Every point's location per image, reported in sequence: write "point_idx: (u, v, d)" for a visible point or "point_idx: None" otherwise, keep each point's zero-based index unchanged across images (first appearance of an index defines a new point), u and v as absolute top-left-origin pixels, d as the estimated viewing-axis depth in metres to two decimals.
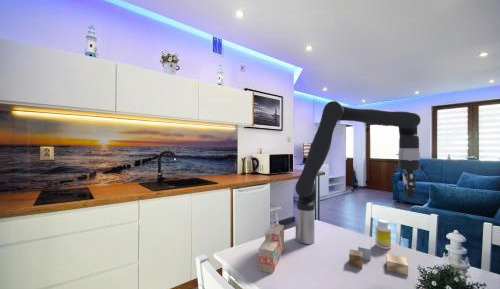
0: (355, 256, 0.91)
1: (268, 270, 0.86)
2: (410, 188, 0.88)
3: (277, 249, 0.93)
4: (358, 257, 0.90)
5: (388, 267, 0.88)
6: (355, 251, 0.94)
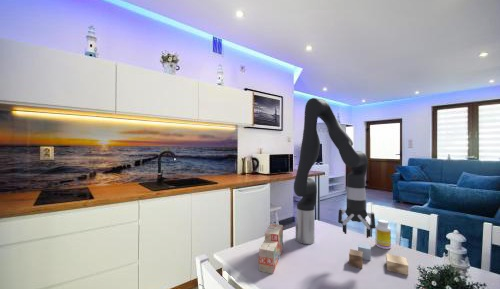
0: (355, 256, 0.91)
1: (268, 270, 0.86)
2: None
3: (277, 249, 0.93)
4: (358, 257, 0.90)
5: (388, 267, 0.88)
6: (355, 251, 0.94)
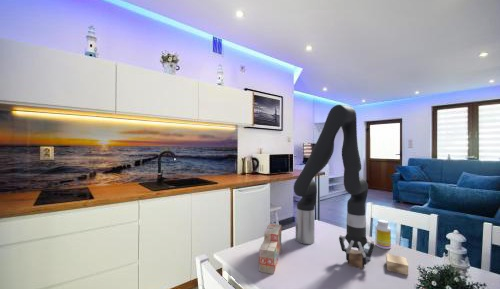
0: (355, 256, 0.91)
1: (269, 270, 0.86)
2: None
3: (277, 249, 0.93)
4: (358, 256, 0.90)
5: (388, 267, 0.88)
6: (355, 251, 0.94)
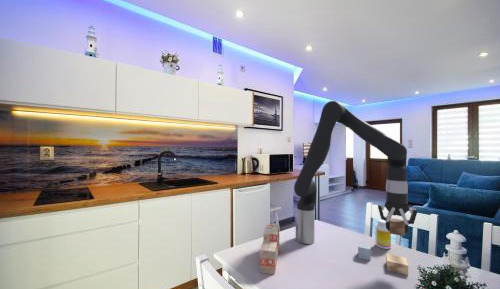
0: (396, 224, 0.88)
1: (270, 271, 0.86)
2: None
3: (276, 249, 0.93)
4: (400, 224, 0.87)
5: (388, 267, 0.88)
6: (395, 219, 0.91)
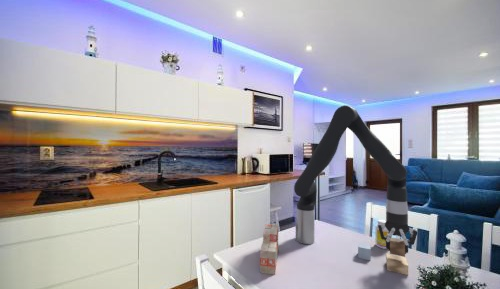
0: (396, 244, 0.88)
1: (270, 271, 0.85)
2: None
3: (276, 249, 0.92)
4: (400, 244, 0.87)
5: (388, 267, 0.88)
6: (395, 239, 0.91)
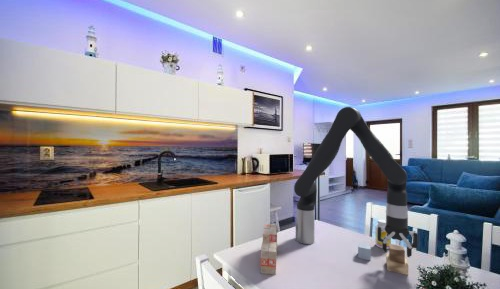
0: (396, 251, 0.88)
1: (271, 271, 0.85)
2: None
3: None
4: (400, 251, 0.87)
5: (388, 267, 0.88)
6: (395, 246, 0.91)
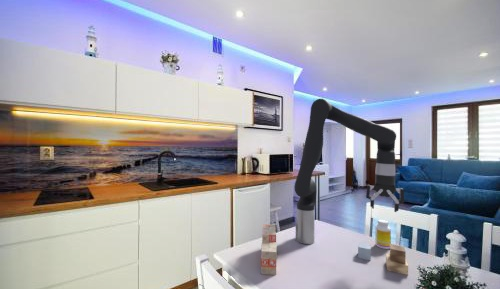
0: (397, 251, 0.87)
1: (271, 272, 0.85)
2: None
3: None
4: (401, 252, 0.87)
5: (388, 267, 0.88)
6: (396, 246, 0.91)
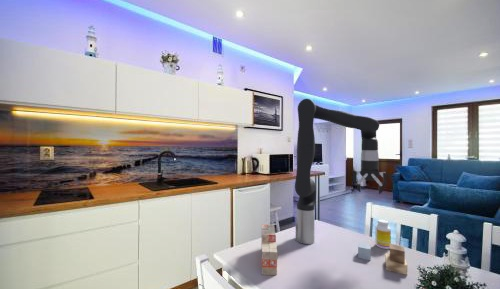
0: (396, 251, 0.88)
1: (272, 272, 0.85)
2: None
3: None
4: (400, 251, 0.87)
5: (387, 267, 0.88)
6: (396, 246, 0.91)
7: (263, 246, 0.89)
